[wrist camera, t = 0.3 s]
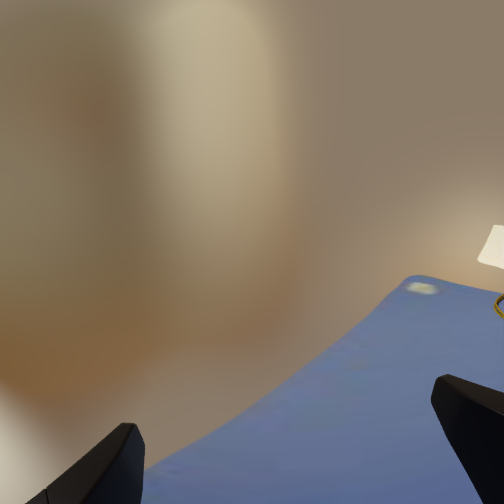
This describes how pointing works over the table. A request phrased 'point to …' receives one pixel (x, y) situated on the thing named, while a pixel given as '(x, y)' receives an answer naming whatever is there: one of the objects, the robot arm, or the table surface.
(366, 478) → the table surface
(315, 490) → the table surface
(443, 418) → the robot arm
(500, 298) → the extension cord
